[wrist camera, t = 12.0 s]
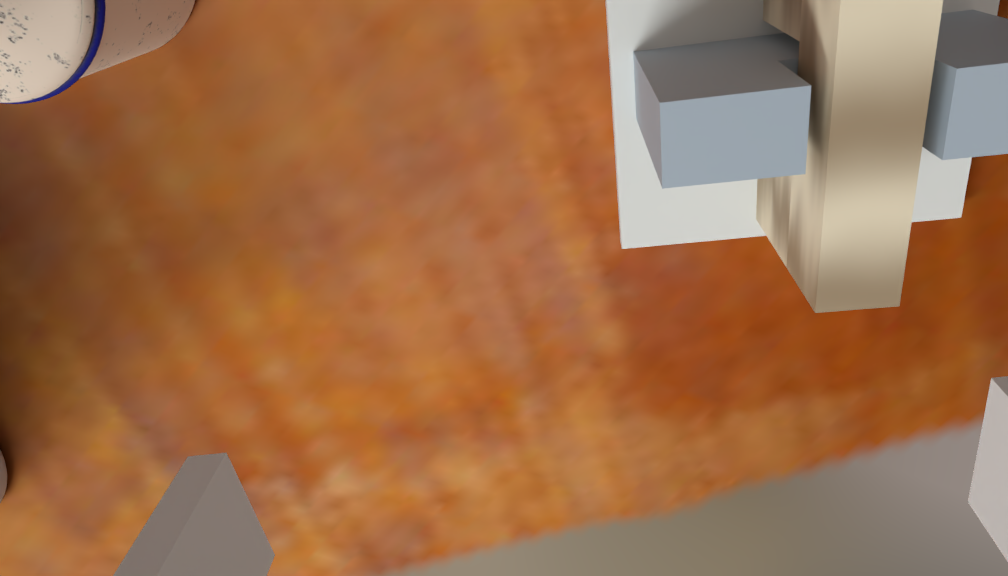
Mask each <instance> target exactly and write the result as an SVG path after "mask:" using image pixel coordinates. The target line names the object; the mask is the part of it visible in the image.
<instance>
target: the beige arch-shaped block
mask: <svg viewBox="0 0 1008 576" xmlns="http://www.w3.org/2000/svg"><path fill="white" fill-rule="evenodd" d="M942 6H943V0H763V20H764V21H765V22H767V23H769V24H770V25H772V26H774V27H776V28H777V29H779V30H781V31H782V32H784V33H786V34H788V35H789V36H791V37H793V38H794V39H796V40H798V41H799V59H798V76H799V77H800V78H802V79H803V80H805V81H806V82H807V83H809V84H810V85H811V99H810V113H809V128H808V143H807V158H806V173H805V174H801V175H792V176H782V177H772V178H762V179H757V205H756V220H757V221H758V223H759V225H760V226H761V228H762V229H763V231H764V232H765V234H766V236H767V237H768V239H769V240H770V242H771V244H772V245H773V247H774V248H775V250H776V251H777V253H778V255H779V256H780V258H781V259H782V261H783V263H784V264H785V266H786V267H787V269H788V270H789V272H790V274H791V275H792V277H793V278H794V280H795V282H796V283H797V285H798V286H799V288H800V289H801V291H802V293H803V294H804V296H805V297H806V299H807V301H808V302H809V304H810V305H811V307H812V308H813V310H814V312H815V313H820V312H832V311H845V310H857V309H870V308H882V307H895V306H900V299H901V292H902V285H903V278H904V271H905V264H906V257H907V250H908V243H909V236H910V229H911V222H912V215H913V208H914V201H915V194H916V187H917V180H918V173H919V166H920V159H921V152H922V145H923V138H924V131H925V124H926V117H927V110H928V103H929V96H930V90H931V83H932V76H933V69H934V62H935V55H936V48H937V41H938V34H939V27H940V20H941V13H942Z"/></svg>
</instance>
